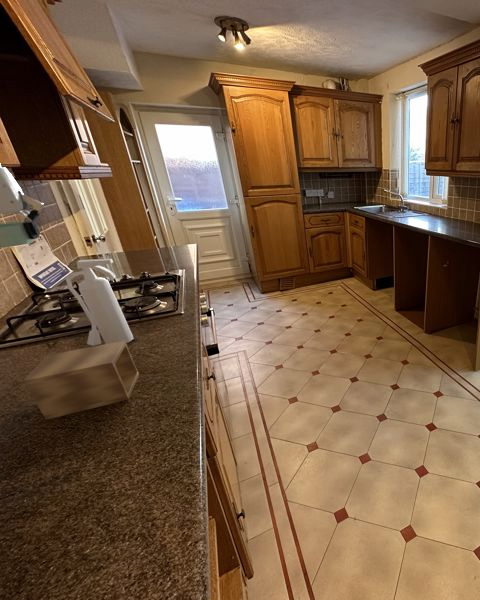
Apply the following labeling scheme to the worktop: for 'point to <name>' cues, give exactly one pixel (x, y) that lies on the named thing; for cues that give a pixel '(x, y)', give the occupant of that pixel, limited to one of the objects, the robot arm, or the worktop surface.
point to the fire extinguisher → (100, 303)
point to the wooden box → (82, 379)
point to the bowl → (13, 234)
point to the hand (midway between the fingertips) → (12, 239)
